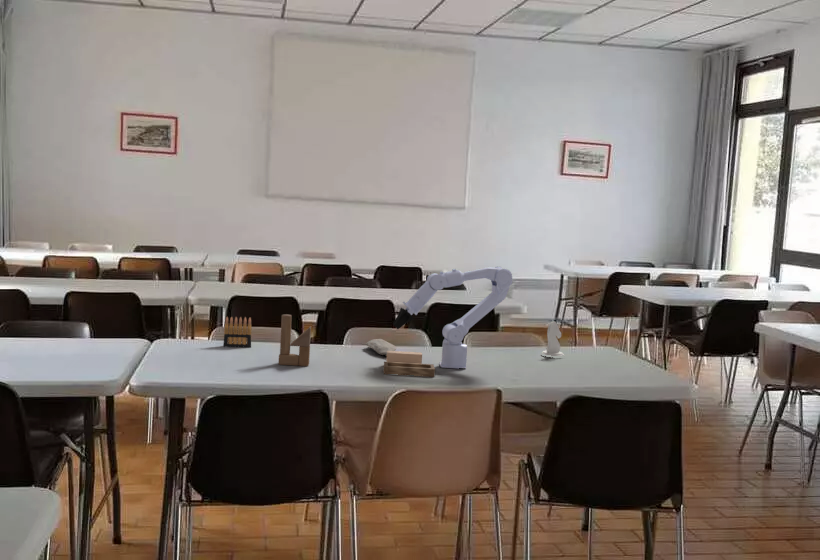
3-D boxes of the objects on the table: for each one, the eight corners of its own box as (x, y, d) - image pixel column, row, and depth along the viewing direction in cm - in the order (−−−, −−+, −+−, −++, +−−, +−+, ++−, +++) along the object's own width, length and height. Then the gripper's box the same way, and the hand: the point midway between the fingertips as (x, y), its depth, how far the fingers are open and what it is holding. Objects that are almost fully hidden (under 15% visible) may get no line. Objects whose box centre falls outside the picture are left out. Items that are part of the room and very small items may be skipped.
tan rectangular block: (420, 366, 303) (421, 352, 303) (421, 369, 299) (422, 354, 299) (386, 365, 303) (386, 350, 302) (386, 367, 299) (387, 352, 298)
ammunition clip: (223, 346, 316) (224, 316, 315) (223, 345, 318) (224, 315, 317) (251, 347, 318) (252, 317, 317) (251, 346, 320) (252, 316, 319)
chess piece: (569, 357, 340) (572, 322, 338) (553, 359, 334) (556, 323, 332) (551, 353, 348) (554, 318, 346) (535, 355, 341) (538, 319, 340)
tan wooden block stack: (308, 366, 291) (310, 317, 289) (278, 365, 290) (280, 315, 288) (309, 364, 294) (311, 315, 292) (279, 362, 294) (281, 313, 292)
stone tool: (390, 336, 338) (403, 346, 314) (389, 347, 339) (402, 359, 315) (363, 335, 336) (374, 345, 312) (362, 347, 336) (373, 358, 312)
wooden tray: (432, 371, 295) (433, 364, 295) (434, 377, 287) (434, 369, 287) (383, 369, 294) (384, 361, 294) (383, 374, 286) (384, 366, 286)
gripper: (410, 291, 309) (386, 318, 308) (413, 293, 294) (388, 320, 294) (423, 304, 309) (400, 330, 309) (427, 306, 295) (402, 333, 294)
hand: (395, 326), depth 301 cm, fingers open, 7 cm apart
